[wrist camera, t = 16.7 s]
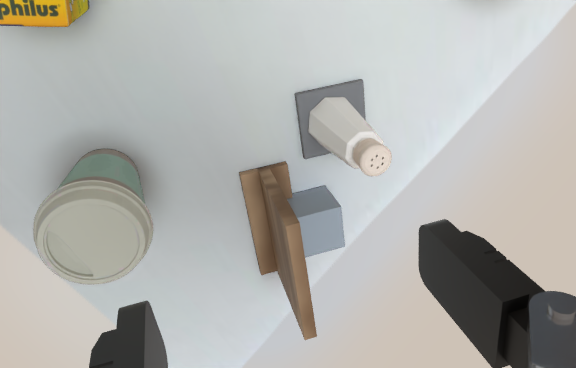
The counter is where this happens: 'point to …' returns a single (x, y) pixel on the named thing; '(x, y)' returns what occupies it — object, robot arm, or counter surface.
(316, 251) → the gray cube
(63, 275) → the coffee cup
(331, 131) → the pepper shaker
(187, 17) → the counter surface
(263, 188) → the screen
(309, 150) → the pad
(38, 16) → the supplement box
